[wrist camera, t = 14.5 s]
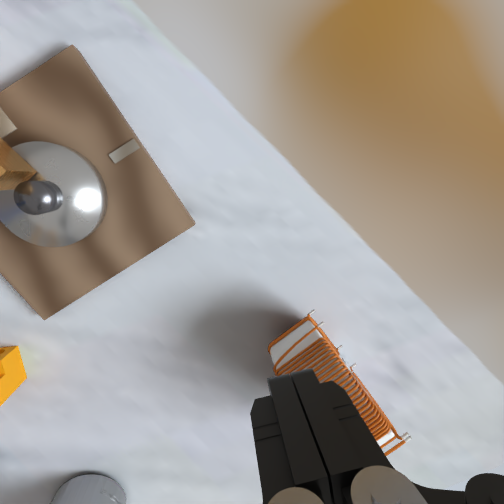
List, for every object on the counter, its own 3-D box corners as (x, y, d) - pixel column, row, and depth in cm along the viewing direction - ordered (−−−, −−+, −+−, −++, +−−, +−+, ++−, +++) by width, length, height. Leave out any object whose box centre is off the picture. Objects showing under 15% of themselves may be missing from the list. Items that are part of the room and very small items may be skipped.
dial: (128, 199, 32) (108, 204, 26) (61, 262, 33) (26, 281, 27) (4, 76, 28) (-54, 48, 22) (-68, 151, 29) (-143, 144, 23)
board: (51, 314, 36) (43, 321, 34) (-89, 161, 30) (-106, 160, 29) (195, 222, 35) (194, 225, 33) (79, 50, 30) (71, 43, 28)
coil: (319, 397, 43) (371, 507, 29) (255, 322, 39) (279, 406, 25) (359, 368, 43) (432, 465, 28) (299, 289, 39) (348, 355, 24)
